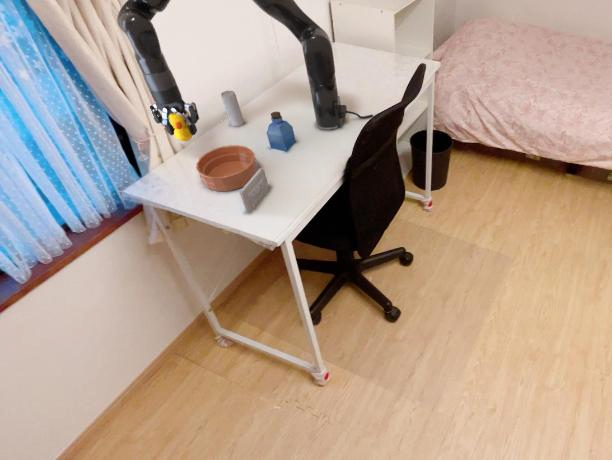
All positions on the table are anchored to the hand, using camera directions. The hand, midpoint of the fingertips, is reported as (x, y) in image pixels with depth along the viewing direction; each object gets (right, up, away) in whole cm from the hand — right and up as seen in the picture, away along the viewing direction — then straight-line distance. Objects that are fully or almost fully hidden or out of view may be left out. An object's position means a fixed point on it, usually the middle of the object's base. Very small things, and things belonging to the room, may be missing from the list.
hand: (183, 133), depth 137 cm
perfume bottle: (+28, -1, +13) cm, 31 cm away
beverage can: (+8, +8, +22) cm, 25 cm away
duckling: (0, -2, +2) cm, 2 cm away
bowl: (+15, -13, 0) cm, 20 cm away
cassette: (+27, -22, -8) cm, 36 cm away
